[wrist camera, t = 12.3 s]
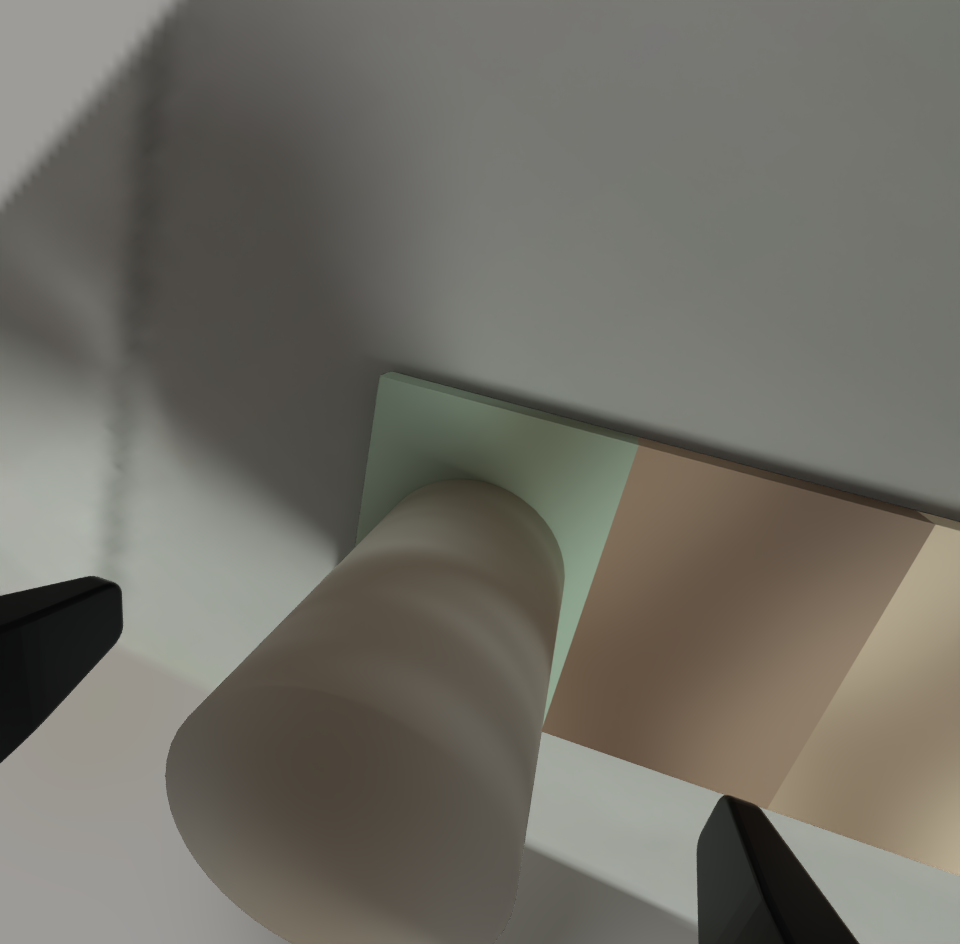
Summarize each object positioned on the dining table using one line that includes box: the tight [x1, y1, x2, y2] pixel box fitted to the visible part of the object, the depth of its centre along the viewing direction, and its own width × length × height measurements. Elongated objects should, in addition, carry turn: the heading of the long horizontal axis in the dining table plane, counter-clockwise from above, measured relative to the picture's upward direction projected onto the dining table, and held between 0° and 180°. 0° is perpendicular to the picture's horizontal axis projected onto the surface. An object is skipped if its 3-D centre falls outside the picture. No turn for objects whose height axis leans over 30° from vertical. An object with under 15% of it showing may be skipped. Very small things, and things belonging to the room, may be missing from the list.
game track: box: [355, 371, 960, 876], centre depth 11 cm, size 15×7×1 cm, turn 78°
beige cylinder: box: [165, 479, 565, 944], centre depth 8 cm, size 4×4×6 cm
